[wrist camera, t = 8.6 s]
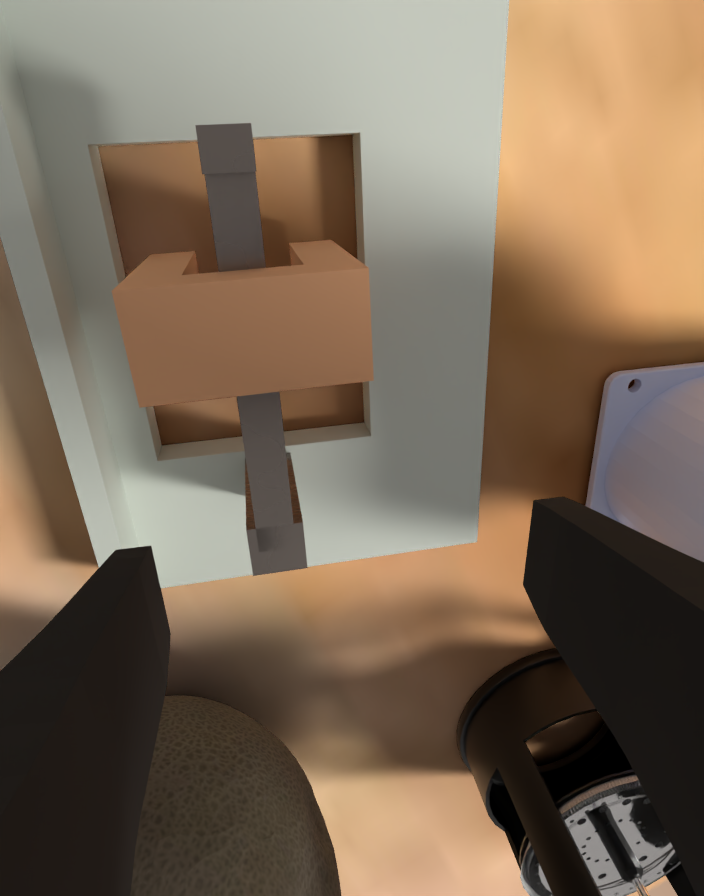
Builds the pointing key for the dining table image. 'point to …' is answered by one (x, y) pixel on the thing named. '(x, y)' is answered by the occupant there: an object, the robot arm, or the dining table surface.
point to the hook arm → (266, 460)
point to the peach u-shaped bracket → (245, 325)
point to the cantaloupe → (228, 811)
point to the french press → (562, 789)
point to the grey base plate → (378, 247)
